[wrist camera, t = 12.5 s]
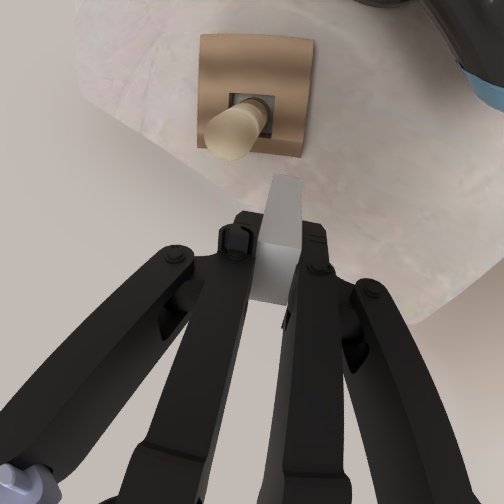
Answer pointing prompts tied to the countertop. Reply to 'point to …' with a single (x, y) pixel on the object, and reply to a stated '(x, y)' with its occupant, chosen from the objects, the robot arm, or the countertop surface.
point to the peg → (236, 129)
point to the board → (257, 84)
